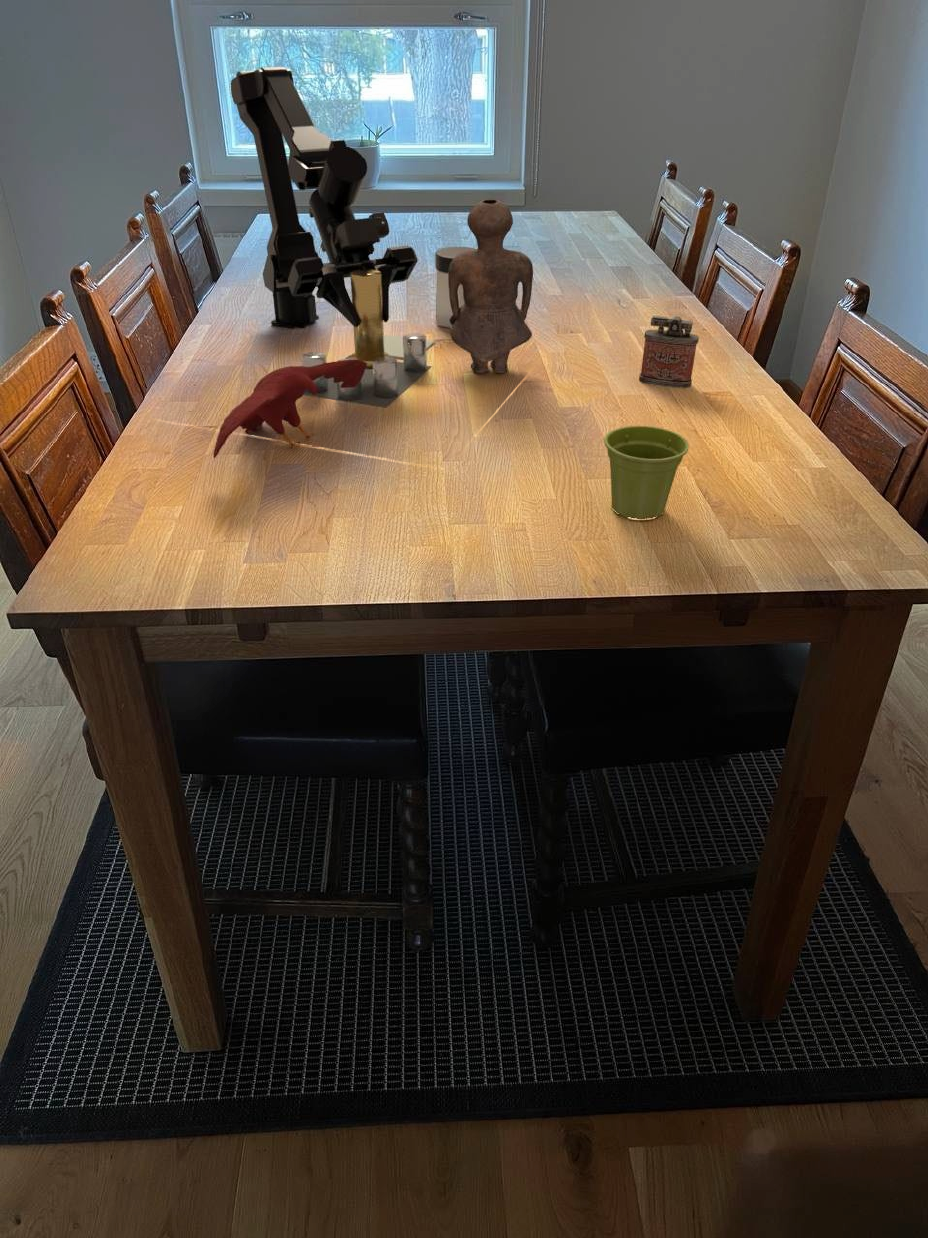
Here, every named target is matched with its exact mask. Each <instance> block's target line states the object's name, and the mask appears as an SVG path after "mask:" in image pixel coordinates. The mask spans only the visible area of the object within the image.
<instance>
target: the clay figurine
mask: <svg viewBox="0 0 928 1238" xmlns="http://www.w3.org/2000/svg"><path fill="white" fill-rule="evenodd" d="M466 219H467V226H468V229H469V230H470V232H471V234H472V235H474V237H475V239H476V240H475V241H476V243H477V244H476V245H477V248H476V249H477V250H473V251H467V252H463V253H460V254H458V255H457V256H456V257H455V258H454V259H453V260H452V262H451V264H450V266H449V272H448V285H449V298H450V305H451V309H452V313H453V315H452V316H451V318H450V323H451V324H452V327H451V328H450V330H449V331H450V338H451V340H452V342H453V343H454V344H455V345H457V346H458V347H459V348H461V349H462V350H463V351H466V352H467V353H469V354H470V357H471V360H472V363H471V364H470V368H471V370H472V371H473V372H474V373H476V374H484V373H487V372H488V371H489V364H490V366H491V367H492V368H493V373H495V374H505V373H507V372H508V359H509V356H510V353H511V351H512V350H514V349H516V348H518V347H519V346H521V345H523V344H525V343H527V342H528V341H529V340H531V338H532V337H533V332H532V330H531V329H530V327H529V326H528V325H527V323H526V321H525V320H526V319H527V316H528V312H529V308H530V304H531V299H532V298H531V297H532V291H533V289H532V288H533V280H534V267H533V263H532V261H531V259H530V257H528V255H526V254H525V253H523V252H521V251H517V250H510V249H506V248H505V247H504V246H503V244H504V240H505V238H506V235H507V234H508V233H509V232H510V231H511V229H512V226H513V224H514V219H513V214H512V212H511V210H510V208H509V206H508V205H506V204H505V203H503V202H502V201H501V200H498V199H494V198H492V199H489V198H488V199H484V200H481V201H479V202H478V203H476V204H475V205H474V206H473V207H472V208H471V209H470V211H469V213H468V214H467V218H466ZM520 283H521V285H522V290H521V291H522V296H521V297H522V298H521V306H520V307H521V308H519V307H518V305H517V299H518V296H519V291H518V290H519V284H520ZM460 284H462V286H463V297H464V302H465V303H464V305H463V306H462V307H460V308H459V299H458V287H459V285H460ZM489 362H490V363H489Z"/></svg>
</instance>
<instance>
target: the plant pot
mask: <svg viewBox="0 0 928 1238" xmlns="http://www.w3.org/2000/svg"><path fill="white" fill-rule="evenodd" d="M603 440H604V441H603V443H604V446H605V448H606V449H607V456H608V458H609V467H610V468H609V469H610V487H611V488H610V490H611V491H610V492H611V493H610V494H611V509H612V508H613V509H614V510H615V511H616V512H617V513H619V514H621V515H620V516H624V517H625V516H626V518H627V517H631V518H637V519H645V518H646V519H647V518H653V517H656V516H658V517H659V516H661V514H662V513H663V512H664V513H665V509H666V505H667V502H668V500H669V496H670V493H671V489H672V487H673V483H674V480H675V477H676V473H677V470H678V466H679V465H680V464H681V463H682V461H683V458H684V457H685V455H687V453H688V451H689V449H690V445H689V442H688V440H687V439H686V438H685V437H683V436H682V434H679V433H677V432H675V431H673V430H669V429H666V428H663V427H657V426H650V425H627V426H622V427H618V428H615V429H613V430H610V431H609V432H608V433H607V434H605V437H604V439H603ZM613 509H612V510H613ZM664 513H663V514H664ZM663 514H662V515H663Z"/></svg>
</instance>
